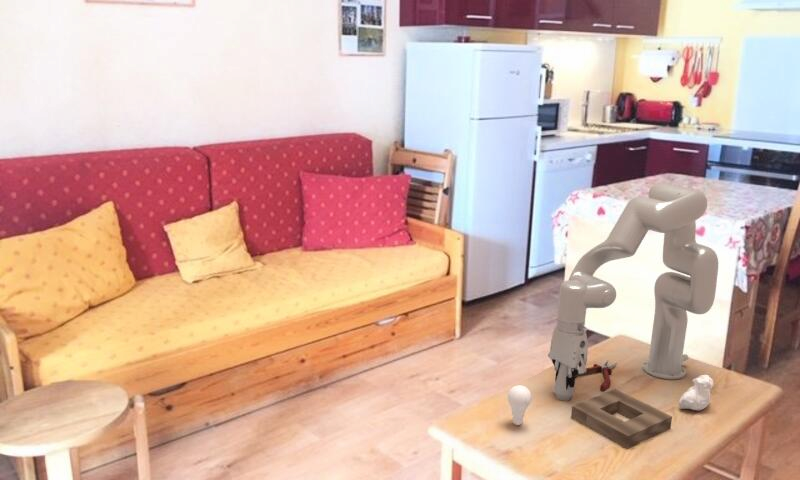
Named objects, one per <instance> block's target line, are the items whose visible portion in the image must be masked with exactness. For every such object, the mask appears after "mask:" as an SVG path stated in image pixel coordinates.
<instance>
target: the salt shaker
mask: <svg viewBox="0 0 800 480" xmlns="http://www.w3.org/2000/svg"><path fill="white" fill-rule="evenodd" d="M560 363H561V364H560V367H559V371H558V376H557V379H556V382H554V384H553V391H554V395H555V397H556V398H557V399H558V400H561V401H570V400H571V399H572V396H573V395H574V394H575V386H574V387H570V386H569V385H568V388H567V390H566V377H567V376H568V366H567V365H565V364H563V362H562V360H561V362H560Z"/></svg>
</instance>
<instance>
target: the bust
mask: <svg viewBox="0 0 800 480" xmlns="http://www.w3.org/2000/svg"><path fill="white" fill-rule="evenodd" d="M692 383H693V384H694V385H693V386H691V387H689V388H688V389H687V390H686V391H685V392H684V393H683V394H682V395H681V396H680V398H679V401H678V406H679V408H680V409H682V410H692V411H698V412H700V411H702V410H704V409H705V408H707V407H708V406H709V403H710V401H711V390H712V388H713V387H714V379H712V378H711V377H710V375H708V374H703V375H701V374H700V375H698V377H695V378H693V379H692Z"/></svg>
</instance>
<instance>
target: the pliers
mask: <svg viewBox="0 0 800 480" xmlns="http://www.w3.org/2000/svg"><path fill="white" fill-rule="evenodd" d="M608 362H609V359H607V360H606V361H604V362H602V363H601V364H600V365H598V364H597V363H594V364H593V366H591V367H586V372H585V373H582V374H578V375H577V376H576V377H575V380H577V378H580V377H583V376H589V375H595V374H596V375H597V374H602V376H603V378H604V379H603V380H604V381H602V382H601V384H600V386H599V391H600V392H604V391H606V390H608V389H609V388H610V387H611V383H612V382H611V377H610V376H612V370H613V369H614V367H616V365H618V363H617V362H614V363H609V364H608Z"/></svg>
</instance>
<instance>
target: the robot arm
mask: <svg viewBox="0 0 800 480" xmlns="http://www.w3.org/2000/svg"><path fill="white" fill-rule="evenodd" d="M707 207H708V199H707V197H706V195H705V194H704V192H702V191H700V190H698V189H693V188H690V187H685V186H681V185H676V184H672V183H668V182H667V183H666V182H659V183H658V182H657V183H655V184H653V185H652V186H651V187H650V188H649V190H648V197H647V196H635V197H632V198H631V199H630V200H629V201H628V202H627V204H626V206H625V207H624V208H623V210H622V213H621V214H620V215H619V217H618V219H617V221H616V223H615V224H614V226H613V228H612V229H611V231H610V232H609V234H608V236H607V238H606V239H605V240H604V241H603V242H601V243H599V244H597V245H595V246H593V247H592V248H591V249H590V250H589V251H587V252H586V253H585V254H583V255H582V256H581V258H579V260H578V261H577V262H576V265H575V266H574V268H573V269H572V271H571V274H570V276H569V277H568V280H564V281H563V282H562V283H561V284H560V286H559V294H558V295H559V296H558V305H557V315H556V316H557V317H556V325H555V326H554V329H553V332H552V335H551V339H550V340H551V341H550V346H549V347H550V348H549V352H548V354H547V357H548V358H549V359H550V360H551V362H552V364H553V369H554V371H555V377H554V378H555V380H554V381H555V382H556V379H557V376H558V371H559V367H560V364H561V363H560V362H561V360H562V362H563V364H565V365H567V366H568V376H567V377H566V390H567V388H568V385H569V386H570V387H574V388H575V385H576V379H575V377H576V376H577V375H578V374H582V373H585V372H586V368H587V367H586V365H588V364H587V362H588V350H589V349H588V336H587V330H588V327H587V326H585V325H586V315H587V309H603V308H607V307H609V306H611V305H612V304H614V303H615V300H616V298H617V290H616V288H615V287H614V285H613V284H611V283H609V282H608V281H605V280H603V279H601V278H598V277H596V276H594V275H595V273H596V271H597V270H599V268H600V267H602V266H603V265H604V264H606V263H608V262H611V261H615V260H621V259H626V258H630V257H633V256H634V255H635V254H636V253H637V251H638V249H639V247H640V246H641V243H642V242H643V240H644V238H645V237H646V235H647V233H648V231H653V232H656V233H660V234H664V235H663V245H662V263H663V265H664V266H665V267H666V268H668V269H670V270H672V271H666V272H664V273H661V274H659V276H657V279H655V283H654V288H653V289H654V290H653V291H654V302H655V303H654V316H653V324H652V332H651V338H650V339H651V340H650V348H649V355H648V359H646V360H644V361H643V363H642V369H643V371H644V372H645V373H647V374H649V375H651V376H653V377H656V378H659V379H664V380H680V379H682V378H684V377H685V376H686V373H687V372H686V371H687V370H686V369H685V367H684V366H683V365H682V364H683V363H684V362H685V361H688V360H689V355H688V354H687V353H684V347H685V342H686V336H687V335H686V334H687V328H688V323H689V322H688V314H687V313H688V312H689V313H692V314H695V315H704V314H706V313H708V312H709V311H710V310H711V309H712V307H713V305H714V302H715V298H716V293H717V283H718V275H719V274H718V273H719V257H718V255H717V252H716V251H715V250H714V249H713V248H711V247H709V246H707V245H703V244H700V243H697V241H696V232H697V231H696V228H697V224H696V223H697V222H696V221H697V220H698V219H700V218H701V217H702V216H703V215H704V214H705V212H706V211H707ZM673 271H675V272H673ZM555 382H554V383H555Z"/></svg>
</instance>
